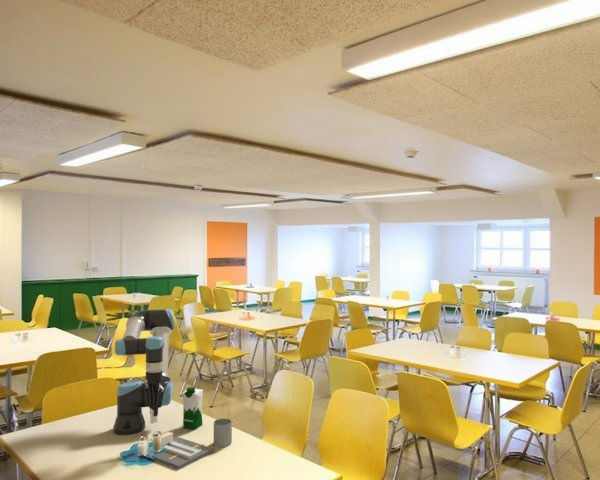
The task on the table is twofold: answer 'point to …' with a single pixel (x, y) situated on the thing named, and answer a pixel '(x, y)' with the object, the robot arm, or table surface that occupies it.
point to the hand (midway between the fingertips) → (153, 422)
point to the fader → (167, 438)
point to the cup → (222, 432)
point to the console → (182, 453)
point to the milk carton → (192, 408)
